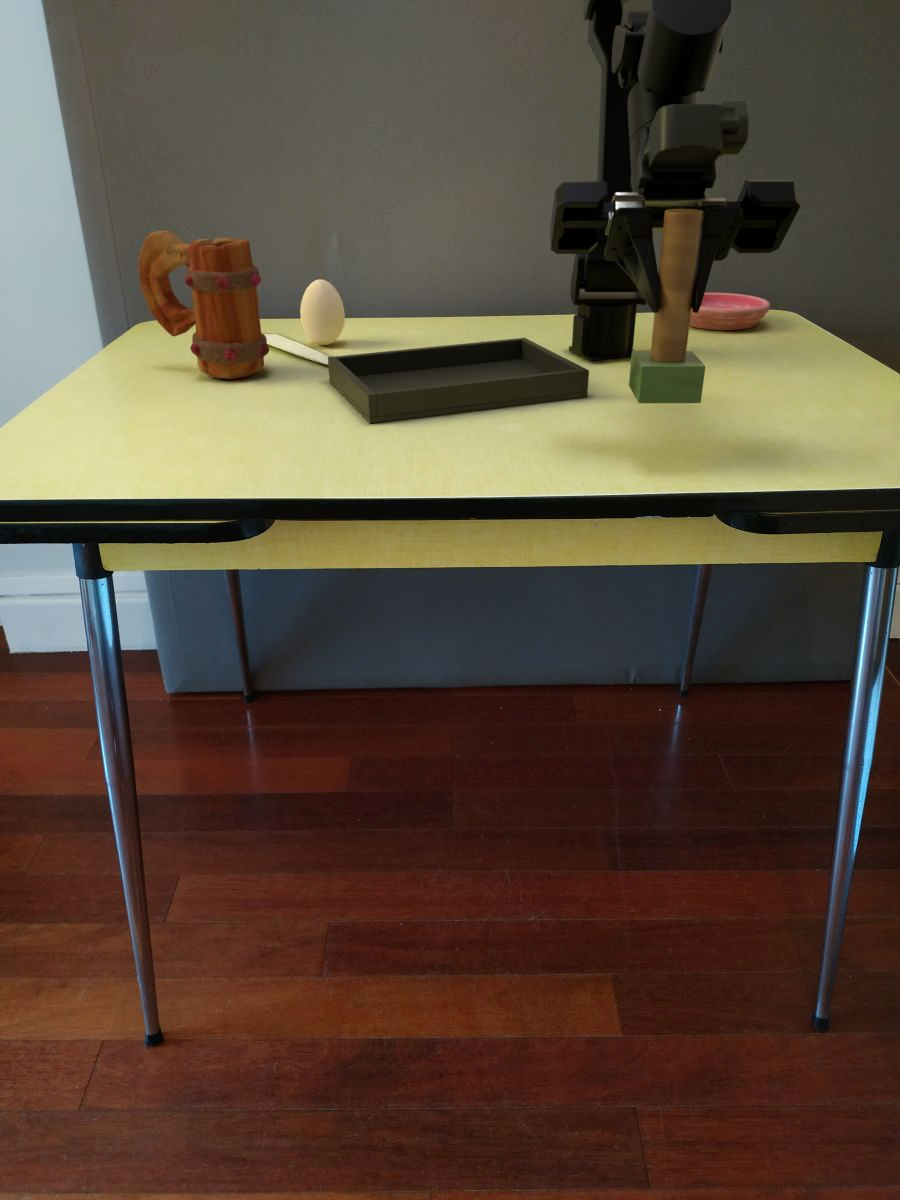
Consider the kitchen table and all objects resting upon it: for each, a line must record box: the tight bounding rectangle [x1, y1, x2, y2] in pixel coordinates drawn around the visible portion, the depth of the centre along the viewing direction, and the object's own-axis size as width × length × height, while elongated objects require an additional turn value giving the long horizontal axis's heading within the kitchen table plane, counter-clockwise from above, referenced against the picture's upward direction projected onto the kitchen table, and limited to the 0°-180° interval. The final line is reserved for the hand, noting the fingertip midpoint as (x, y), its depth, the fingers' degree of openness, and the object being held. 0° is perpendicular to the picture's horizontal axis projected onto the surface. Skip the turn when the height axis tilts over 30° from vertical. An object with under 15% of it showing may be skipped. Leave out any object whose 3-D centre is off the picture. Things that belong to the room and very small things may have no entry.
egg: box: [299, 279, 346, 346], centre depth 113 cm, size 6×6×8 cm
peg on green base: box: [628, 209, 706, 404], centre depth 71 cm, size 5×5×14 cm
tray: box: [327, 337, 590, 424], centre depth 97 cm, size 24×16×3 cm, turn 111°
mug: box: [137, 229, 270, 380], centre depth 100 cm, size 15×8×15 cm, turn 71°
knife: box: [261, 330, 329, 366], centre depth 116 cm, size 1×34×5 cm
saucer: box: [689, 292, 771, 331], centre depth 124 cm, size 12×12×3 cm
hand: (676, 309), depth 70 cm, fingers closed on peg on green base, 3 cm apart
